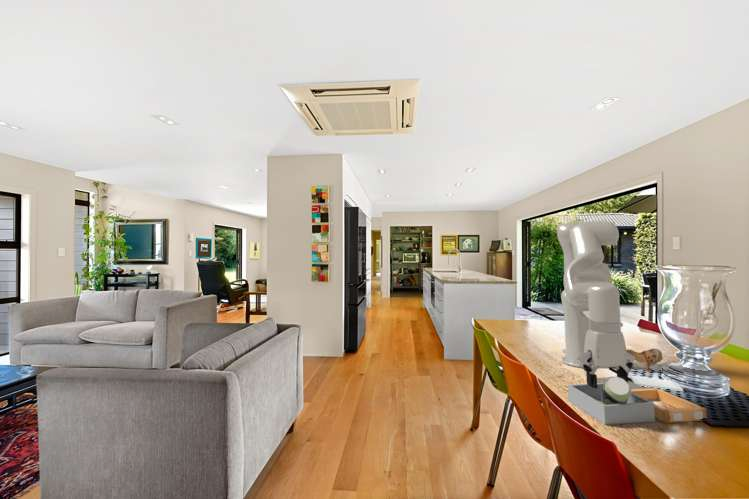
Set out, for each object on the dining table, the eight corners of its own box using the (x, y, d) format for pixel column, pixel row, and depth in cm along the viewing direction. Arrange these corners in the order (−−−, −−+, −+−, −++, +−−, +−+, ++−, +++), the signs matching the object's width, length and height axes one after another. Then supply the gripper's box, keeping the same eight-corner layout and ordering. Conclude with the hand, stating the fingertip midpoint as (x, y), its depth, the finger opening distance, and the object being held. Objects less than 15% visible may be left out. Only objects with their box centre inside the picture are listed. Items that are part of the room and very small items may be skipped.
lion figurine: (665, 372, 121) (664, 348, 121) (661, 375, 118) (660, 351, 118) (619, 362, 133) (618, 340, 133) (614, 365, 130) (613, 343, 130)
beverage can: (617, 389, 95) (620, 367, 89) (634, 413, 89) (638, 391, 83) (594, 393, 96) (596, 372, 90) (610, 417, 90) (612, 396, 84)
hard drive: (634, 382, 109) (683, 389, 103) (630, 374, 116) (675, 380, 110) (635, 387, 109) (683, 394, 103) (630, 379, 116) (675, 385, 110)
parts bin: (568, 401, 99) (567, 384, 99) (611, 398, 100) (610, 382, 100) (605, 425, 85) (604, 406, 85) (655, 421, 86) (654, 403, 86)
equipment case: (588, 382, 113) (588, 373, 113) (619, 380, 114) (619, 372, 114) (668, 423, 84) (667, 412, 85) (709, 421, 85) (708, 409, 85)
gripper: (621, 323, 97) (624, 379, 97) (568, 325, 96) (570, 382, 96) (643, 328, 90) (647, 389, 89) (586, 331, 89) (589, 392, 88)
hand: (607, 385), depth 93 cm, fingers open, 9 cm apart
